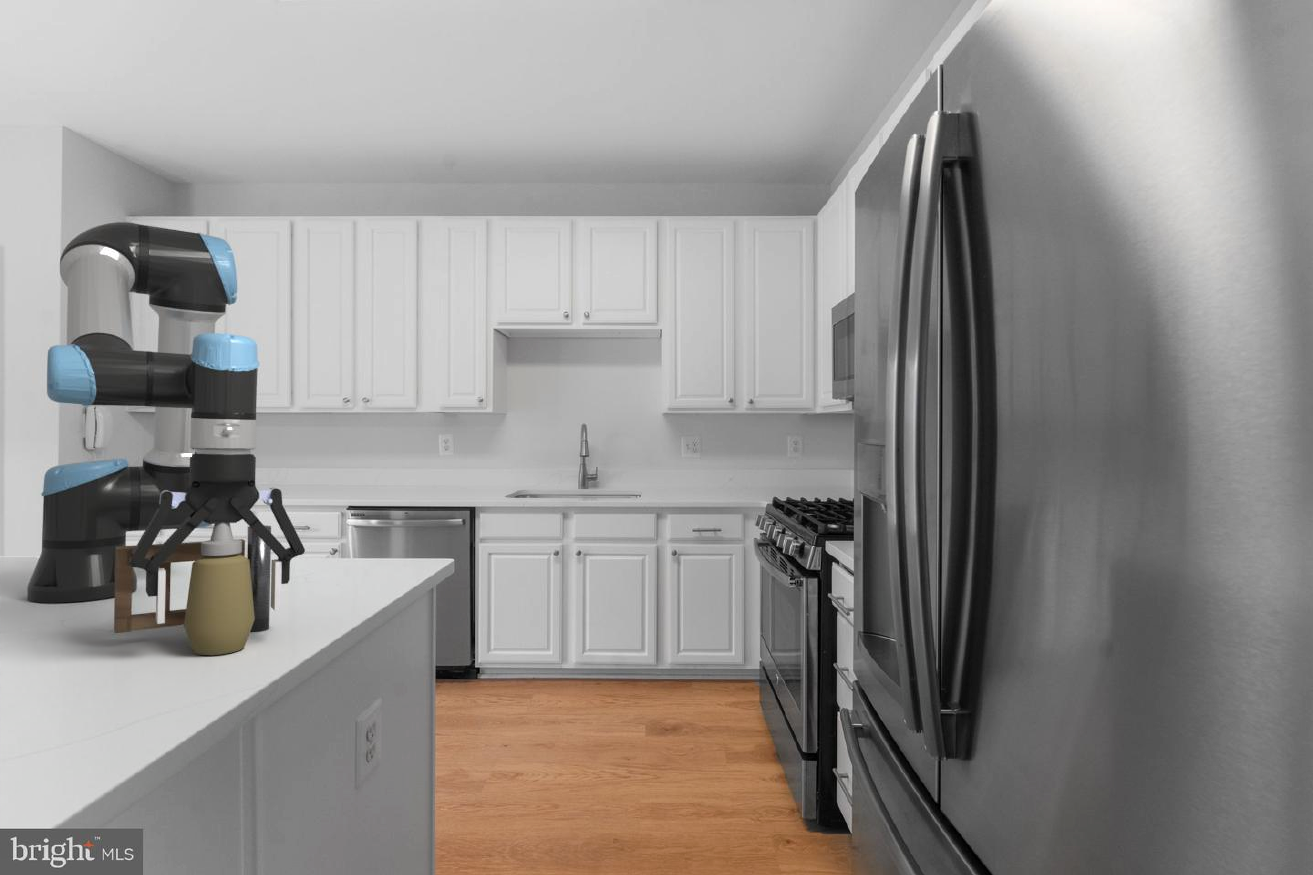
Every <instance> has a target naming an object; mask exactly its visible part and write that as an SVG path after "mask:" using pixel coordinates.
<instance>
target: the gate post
mask: <svg viewBox="0 0 1313 875" xmlns="http://www.w3.org/2000/svg"><path fill="white" fill-rule="evenodd" d="M263 525H264V526H265V527H266V528H267V529H268V530H269V531H270V533H271V534H272V526H271V525H266V524H263ZM271 555H272V554H271V549H270V548H269V546H268V545H267V544H266V543H265V542H264V541H263V540H262V539H261V538H260V537H259V536H258V535H257V534H256V532H255V531H254V530H253V529H252V528H251V527H250V526H249V525H248V527H247V556H246V558H248V559H249V561H250V572H251V583H252V594H253V605H254V616H255V620H254V623H253V625H252V628H251V631H250V633H256V632H264V631H268V630H269V629H270V608H271V562H272V558H271Z"/></svg>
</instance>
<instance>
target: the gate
mask: <svg viewBox="0 0 1313 875" xmlns="http://www.w3.org/2000/svg"><path fill="white" fill-rule="evenodd" d="M236 540H241V541H242V552H241V553H239V555H242V556H245V557H246V540H245V539H243V538H241V539H239V538H238V539H236ZM202 542H203V541H193V542H192V541H189V542H182V543H181V544H180V545H179V546H178V548H177V549H176V550H175V551H174V552H173V553H172V554H171V555H170V556H169V557H168V558H167V560H166V561H165V562H164V563H163V564H162V565H161V566H160V567H159V568H164V569H165V571H166V582H165V623H161V624H157V621H156V611H154V612H145V613H136V614H135V613H134V614H132V607H133V606H132V604H133V601H132V600H133V592H132V566H131V565H130V563H129V558H130V556H131V554H132V553H133V551H134V549H135V547H136V546H137V544H136V545H126V546H120V547H116V554H115V597H114V602H113V603H114V611H113V612H114V613H113V614H114V615H113V617H114V618H113V633H114V634H116V635H117V634H124V633H131V632H133V631H142V630H151V629H152V630H153V629H159V628H168V627H169V628H170V627H176V626H184V621H185V614H186V608H183V609H182V608H181V609H174V610H173V609H171V574H172V573H171V570H172V569H171V568H172V563H185V562H195V561H196V560H197V559H198V558H201V557H204V555H201V543H202ZM163 544H164V543H158V544H157V543H156V544H155V543H153V544H152V546H151V548H150V549H149V551H148V553H147V555H146V556H145V558H149V559H150V558H151V557H152V556H153V554H154V553H155V552H156V551H157V550H158V549H159V548H160V547H161V546H162V545H163Z"/></svg>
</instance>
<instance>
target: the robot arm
mask: <svg viewBox="0 0 1313 875" xmlns="http://www.w3.org/2000/svg"><path fill="white" fill-rule="evenodd" d="M59 274H60V277H61V280H62V281H63V283H64V284H65V286H66V287H67V299H66V300H67V304H66V306H67V307H66V308H67V309H66V310H67V311H66V345H65V344H64V345H63V344H62V345H61V344H56V345H53V346H50V347H49V349H48V350H47V358H46V359H47V362H46V366H47V367H46V370H47V371H46V394H47V397H48V398H49V399H50V401H53V402H55V403H61V404H72V405H73V404H74V405H75V404H76V405H81V406H85V407H87V406H121V407H128V406H129V407H151V408H154V409H155V410H154V429H153V430H154V433H153V447H152V448H151V449H150V450H149V451H148V452H147V453H145V454H144V455H143V457H142V465H141V466H130V465H129V462H128V460H127V458H113V459H112V458H111V459H102V460H99V459H98V460H92V461H83V462H74V463H67V464H61V465H59V464H58V465H55V466H53V467H50V468H49V469H48V470H46V472H45V474H44V478H43V486H42V487H43V488H42V489H43V490H42V492H41V494H40V495H41V497H43V501H42V502H43V503H42V504H43V505H42V526H41V527H42V529H41V530H42V531H41V533H42V534H41V553H40V555H39V558H38V561H37V563H36V565H35V568H34V570H33V572H32V574H31V577H30V579H29V582H28V585H27V589H26V590H27V593H26V594H27V595H26V596H27V600H28V601H31V602H34V603H35V602H36V603H74V602H76V603H77V602H87V601H95V600H103V599H110V598H115V554H116V547H120V546H127V545H126V544H127V543H126V542H127V540H126V539H127V532H137V531H138V532H140V531H141V532H142V531H143V533H142V535H141V537H140V539H139V541H138V542H137V544H136V545H137V546H136V545H135V546H136V547H135V549H134V551H133V553H132V554H131V556H130V558H129V563H130V565H131V566H132V593H133V592H136V590H137V588H138V587H137V586H138V578H137V574H136V571H135V569H134V568H137V569H142V570H144V571H145V593H146V595H147V597H149V598H151V597H155V612H156V621H157V624H161V623H165V582H166V571H165V569H164V568H159V567H160V566H161V565H162V564H163V563H164V562H165V561H166V560H167V558H168V557H169V556H170V555H171V554H172V553H173V552H174V551H175V550H176V549H177V548H178V546H179V545H180V544H181V543H184V542H185V540H186V539H187V538H188V537H189V536H190V535H191V533H192V532H193V531H194V530H195V529H197V528H206V527H211V526H212V525H214V524H217V523H221V522H227V523H230V524H237V523H238V522H240V521H242V520H243V521H244V523H246V524H247V525H248V527H249V526H250V527H251V528H252V529H253V530H254V531H255V532H256V534H257V535H258V536H259V537H260V538H261V539H262V540H263V541H264V542H265V543H266V544H267V545H268V546H269V548H270V549H271V550H272V552H273V553H274V554H275V555H276V556H277V559H271V563H270V608H271V609H272V610H274V611H281V610H282V585H287V584H289V582H290V578H291V576H290V575H291V573H290V572H291V571H290V570H291V569H290V568H291V567H290V566H291V560H292V559H293V558H295V557H298V556H302V555H304V554H305V553H306V550H305V547H304V545H303V543H302V540H301V539H300V537H299V534H298V533H297V531H296V529H295V527H294V525H293V523H292V520H291V518H290V517H289V515H288V513H287V511H286V508H285V507H284V505H283V493H282V490H281V489H279V488H277V487H270V488H268V489H262V490H261V489H260V490H258V489H257V488H258V487H256V467H257V466H256V463H257V461H256V460H257V459H256V456H255V454H252V451H254V450H255V449H256V448H257V392H258V371H259V370H258V369H259V368H258V367H259V366H260V361H259V358H258V344H257V342H256V340H254V339H253V338H251V337H249V336H245V335H237V334H231V333H229V334H228V333H216V322H217V321H218V320H219V319H221V318H222V317H224V316H225V315H226V311H227V310H226V309H227V308H226V307H227V305H229V306H230V305H234V304H235V303H236V302H237V299H238V277H237V276H238V275H237V267H236V262H235V257H234V253H233V250H232V247H231V245H230V244H229V242H228V241H227V240H225V239H223V238H221V237H217V236H214V235H208V234H204V233H201V232H191V231H184V230H179V229H172V228H166V227H165V228H164V227H159V226H152V225H145V224H139V223H135V222H127V221H124V222H121V221H118V222H117V221H116V222H115V221H114V222H110V223H104V224H100V225H96V226H94V227H91V228H90V229H87V230H85V231H83V232H81V233H79V234H78V235H76V236H75V237H74V238H73V239H71V240H70V242H69V243H68V244H67V245H66V246H65V248H63V251H62V252H61V256H60V259H59ZM130 293H134V294H135V293H136V294H141V295H148V296H149V298H148V306H149V307H150V308H151V309H152V310H153V311H154V312H155V313H156V314H157V315H158V329H157V330H158V332H157V334H158V335H157V351H148V350H146V351H144V350H135V345H134V336H133V335H134V333H133V332H134V331H133V321H132V312H131V302H130V301H131V299H130ZM259 499H261V500H262V501H263V503H264V504H265V505H267V506H269V507H270V510H271V512H272V514H273V516H274V518H275V520H276V522H277V524H278V527H279V528H280V530H281V532H282V533H283V535H284V538H285V540H286V542H287V544H288V545H289V547H288V548H285V546H283V545H282V544H281V542H280V540H278V539H277V538H276V537H275V536H274V534H272V532H271V533H270V531H269V530H268V529H267V528H266V527H265V526H266V525H265V524H263V523H262V522H261V520H260V519H259V518H258V517H257V515H256V514H254V512H253V511H252V510H251V509H252V508H253V507H254V506H255V505H256V503H257V502H258V500H259ZM264 525H265V526H264ZM161 530H175V531H174V532H173V533H172V534H171V535H170V536H169V537H168V538H167V539H166V540H165V541H164V542H163V543H162V544H163V545H162V546H161V547H160V548H159V549H158V550H157V551H156V552H155V553H154V554H153V556H152V557H151V558H150V559H149V558H145V556H146V555H147V553H148V551H149V549H150V548H151V546H152V545H153V544H154V542H155V540H156V539H157V537H158V535H159V533H160V532H161Z"/></svg>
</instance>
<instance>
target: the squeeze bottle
mask: <svg viewBox="0 0 1313 875" xmlns="http://www.w3.org/2000/svg"><path fill="white" fill-rule="evenodd" d="M213 525H214V526H213V529H212V532H211V536H210V539H209V540H204V541H201V542H202V543H201V555H204V557H201V558H198V559H197V560H196V561H193V562H192V564H191V570H190V571H191V572H190V579H189V587H188V593H187V601H186V607H185V609H186V614H185V621H184V625H183V628H184V631H185V635H186V636H187V640H188V642H189V644H190V647H191V649H192V652H193V654H196V655H201V656H220V655H226V654H230V653H234V652H237V651H241V650H242V649H244V648H245V646H246V643H247V642H248V639H249V635H250V633H251V632H250V631H251V628H252V625H253V623H254V620H255V616H254V605H253V594H252V583H251V572H250V561H249V559H248V558H247V556H246V555H245V556H242V555H239V553H241V552H242V541H241V540H237V539H236V538H235V539H234V537H233V532H232V527H231V523H227V522H221V523H217V524H213Z"/></svg>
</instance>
